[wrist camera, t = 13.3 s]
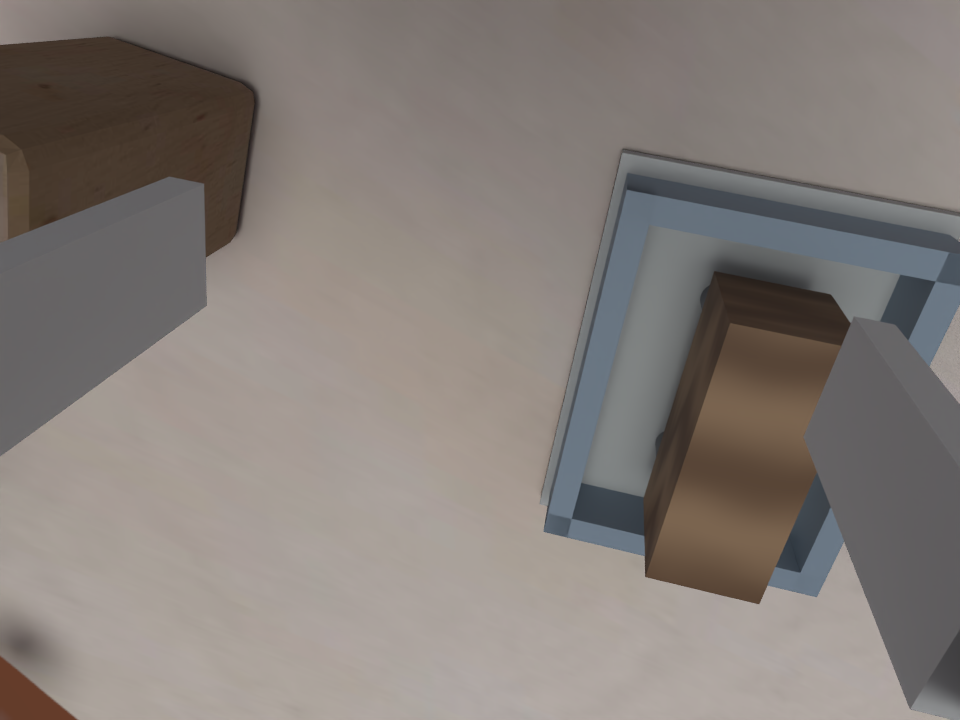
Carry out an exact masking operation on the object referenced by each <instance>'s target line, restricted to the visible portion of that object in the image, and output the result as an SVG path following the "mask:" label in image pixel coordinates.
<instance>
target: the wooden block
mask: <svg viewBox="0 0 960 720" xmlns="http://www.w3.org/2000/svg"><path fill="white" fill-rule="evenodd" d="M254 103H255V101H254V95H253V92H252V91H251V90H250V89H248V88H247V87H245V86H244V85H243V84H241V83H240V82H238V81H235V80H232V79H229V78H226V77H223V76H220V75H218V74H215V73H212V72H209V71H206V70H203V69H200V68H197V67H195V66H192V65H189V64H186V63H183V62H180V61H177V60H174V59H172V58H169V57H166V56H163V55H160V54H157V53H154V52H152V51H149V50H146V49H143V48H140V47H137V46H134V45H131V44H129V43H126V42H123V41H120V40H117V39H114V38H111V37H97V38H84V39H71V40H59V41H46V42H33V43H20V44H8V45H0V243H1V242H4V241H6V240H9V239H11V238H14V237H16V236H19V235H21V234H24V233H27V232H29V231H32V230H34V229H37V228H39V227H42V226H44V225H47V224H50V223H52V222H55V221H57V220H60V219H62V218H65V217H67V216H70V215H73V214H75V213H78V212H80V211H83V210H85V209H88V208H90V207H93V206H96V205H98V204H101V203H103V202H106V201H108V200H111V199H113V198H116V197H119V196H121V195H124V194H126V193H129V192H131V191H134V190H136V189H139V188H142V187H144V186H147V185H149V184H152V183H154V182H157V181H159V180H162V179H165V178H167V177H174V178H178V179H183V180H188V181H193V182H198V183H203V184H204V204H205V250H206V257H207V256H209V255H211V254H212V253H214V252H215V251H217V250H219V249H220V248H222V247H224V246H225V245H227V244H228V243H230V242H231V240H232V239H233V237H234V236H235V234H236V229H237V222H238V215H239V208H240V201H241V194H242V187H243V180H244V173H245V166H246V159H247V152H248V145H249V138H250V131H251V124H252V117H253V110H254Z"/></svg>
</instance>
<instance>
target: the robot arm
mask: <svg viewBox="0 0 960 720" xmlns="http://www.w3.org/2000/svg"><path fill="white" fill-rule="evenodd" d="M205 306H207V296H206V250H205V204H204V184H203V183H198V182H193V181H188V180H183V179H178V178H174V177H167V178H165V179H162V180H159V181H157V182H154V183H152V184H149V185H147V186H144V187H142V188H139V189H136V190H134V191H131V192H129V193H126V194H124V195H121V196H119V197H116V198H113V199H111V200H108V201H106V202H103V203H101V204H98V205H96V206H93V207H90V208H88V209H85V210H83V211H80V212H78V213H75V214H73V215H70V216H67V217H65V218H62V219H60V220H57V221H55V222H52V223H50V224H47V225H44V226H42V227H39V228H37V229H34V230H32V231H29V232H27V233H24V234H21V235H19V236H16V237H14V238H11V239H9V240H6V241H4V242H1V243H0V456H1V455H3V454H4V453H5V452H7V451H8V450H10V449H11V448H12V447H14V446H15V445H16V444H18V443H19V442H21V441H22V440H23V439H25V438H26V437H27V436H29V435H30V434H31V433H33V432H34V431H36V430H37V429H38V428H40V427H41V426H42V425H44V424H45V423H47V422H48V421H49V420H51V419H52V418H53V417H55V416H56V415H58V414H59V413H60V412H62V411H63V410H64V409H66V408H67V407H68V406H70V405H71V404H73V403H74V402H75V401H77V400H78V399H79V398H81V397H82V396H84V395H85V394H86V393H88V392H89V391H90V390H92V389H93V388H94V387H96V386H97V385H99V384H100V383H101V382H103V381H104V380H105V379H107V378H108V377H110V376H111V375H112V374H114V373H115V372H116V371H118V370H119V369H121V368H122V367H123V366H125V365H126V364H127V363H129V362H130V361H131V360H133V359H134V358H136V357H137V356H138V355H140V354H141V353H142V352H144V351H145V350H147V349H148V348H149V347H151V346H152V345H153V344H155V343H156V342H158V341H159V340H160V339H162V338H163V337H164V336H166V335H167V334H168V333H170V332H171V331H173V330H174V329H175V328H177V327H178V326H179V325H181V324H182V323H184V322H185V321H186V320H188V319H189V318H190V317H192V316H193V315H195V314H196V313H197V312H199V311H200V310H201V309H203V308H204V307H205ZM804 440H805V442H806V445H807V448H808V450H809V453H810V455H811V458H812V460H813V463H814V465H815V468H816V470H817V473H818V476H819V478H820V481H821V483H822V486H823V488H824V491H825V493H826V496H827V499H828V501H829V504H830V506H831V509H832V511H833V514H834V516H835V519H836V522H837V524H838V527H839V529H840V532H841V534H842V537H843V539H844V542H845V544H846V547H847V550H848V552H849V555H850V557H851V560H852V562H853V565H854V567H855V570H856V573H857V575H858V578H859V580H860V583H861V585H862V588H863V590H864V593H865V596H866V598H867V601H868V603H869V606H870V608H871V611H872V613H873V616H874V619H875V621H876V624H877V626H878V629H879V631H880V634H881V636H882V639H883V641H884V644H885V647H886V649H887V652H888V654H889V657H890V659H891V662H892V664H893V667H894V670H895V672H896V675H897V677H898V680H899V682H900V685H901V687H902V690H903V693H904V695H905V698H906V700H907V703H908V705H909V708H910V709H911V710H915V711H919V712H923V713H927V714H931V715H935V716H939V717H943V718H947V719H951V720H960V404H959V403H958V402H957V401H956V399H955V398H954V397H953V396H952V394H951V393H950V392H949V391H948V389H947V388H946V387H945V386H944V385H943V383H942V382H941V381H940V380H939V378H938V377H937V376H936V375H935V373H934V372H933V371H932V370H931V368H930V367H929V366H928V365H927V363H926V362H925V361H924V360H923V358H922V357H921V356H920V355H919V353H918V352H917V351H916V350H915V349H914V347H913V346H912V345H911V344H910V342H909V341H908V340H907V339H906V337H905V336H904V335H903V334H902V332H901V331H900V330H899V329H898V327H897V326H896V325H894V324H889V323H884V322H879V321H875V320H870V319H865V318H860V317H855V316H854V317H853V320H852V322H851V324H850V327H849V329H848V332H847V334H846V336H845V339H844V341H843V344H842V346H841V348H840V351H839V353H838V355H837V358H836V360H835V363H834V365H833V367H832V370H831V372H830V375H829V377H828V379H827V382H826V384H825V386H824V389H823V391H822V394H821V396H820V398H819V401H818V403H817V406H816V408H815V410H814V413H813V415H812V417H811V420H810V422H809V425H808V427H807V429H806V432H805V434H804Z"/></svg>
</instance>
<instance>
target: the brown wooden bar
mask: <svg viewBox="0 0 960 720" xmlns="http://www.w3.org/2000/svg"><path fill="white" fill-rule="evenodd" d="M850 324H851V323H850V322H849V320H848V319H847V317H846V316H845V314H844V313H843V311H842V310H841V308H840V307H839V305H838V304H837V302H836V301H835V299H834V298H833V296H832V295H831V294H827V293H822V292H817V291H812V290H807V289H802V288H797V287H792V286H787V285H782V284H777V283H772V282H767V281H762V280H757V279H752V278H747V277H742V276H737V275H732V274H727V273H722V272H717V271H714V274H713V277H712V280H711V283H710V286H709V290H708V293H707V296H706V299H705V302H704V306H703V309H702V312H701V315H700V318H699V322H698V325H697V328H696V331H695V335H694V338H693V341H692V344H691V347H690V351H689V354H688V357H687V360H686V363H685V367H684V370H683V373H682V376H681V379H680V383H679V386H678V389H677V392H676V395H675V399H674V402H673V405H672V408H671V411H670V415H669V418H668V421H667V424H666V427H665V431H664V434H663V437H662V440H661V443H660V447H659V450H658V453H657V456H656V459H655V463H654V466H653V469H652V472H651V475H650V479H649V482H648V485H647V488H646V491H645V495H644V498H643V504H644V543H645V577H648V578H652V579H656V580H660V581H665V582H669V583H673V584H677V585H681V586H685V587H690V588H694V589H698V590H702V591H706V592H710V593H714V594H719V595H723V596H727V597H731V598H735V599H739V600H744V601H748V602H752V603H756V604H759V603H760V601H761V599H762V597H763V594H764V592H765V590H766V587H767V585H768V583H769V581H770V578H771V576H772V574H773V571H774V569H775V567H776V565H777V562H778V560H779V558H780V555H781V553H782V551H783V549H784V546H785V544H786V542H787V540H788V537H789V535H790V533H791V530H792V528H793V526H794V524H795V521H796V519H797V517H798V514H799V512H800V510H801V508H802V505H803V503H804V501H805V498H806V496H807V494H808V492H809V489H810V487H811V485H812V482H813V480H814V478H815V476H816V473H817V470H816V468H815V465H814V463H813V460H812V458H811V455H810V453H809V450H808V448H807V445H806V442H805V440H804V434H805V432H806V429H807V427H808V425H809V422H810V420H811V417H812V415H813V413H814V410H815V408H816V406H817V403H818V401H819V398H820V396H821V394H822V391H823V389H824V386H825V384H826V382H827V379H828V377H829V375H830V372H831V370H832V367H833V365H834V363H835V360H836V358H837V355H838V353H839V351H840V348H841V346H842V344H843V341H844V339H845V336H846V334H847V332H848V329H849V327H850Z"/></svg>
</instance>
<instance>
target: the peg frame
mask: <svg viewBox="0 0 960 720" xmlns="http://www.w3.org/2000/svg"><path fill="white" fill-rule="evenodd" d="M959 237H960V213H957V212H952V211H946V210H941V209H936V208H930V207H925V206H920V205H915V204H909V203H904V202H899V201H893V200H888V199H883V198H877V197H872V196H867V195H862V194H856V193H851V192H846V191H840V190H835V189H830V188H825V187H819V186H814V185H809V184H803V183H798V182H793V181H788V180H782V179H777V178H772V177H766V176H761V175H756V174H751V173H745V172H740V171H735V170H729V169H724V168H719V167H713V166H708V165H703V164H698V163H692V162H687V161H682V160H676V159H671V158H666V157H661V156H655V155H650V154H645V153H639V152H634V151H629V150H624V149H623V150H622V154H621V158H620V163H619V167H618V171H617V175H616V180H615V184H614V188H613V192H612V197H611V201H610V205H609V209H608V214H607V218H606V222H605V227H604V231H603V235H602V239H601V244H600V248H599V252H598V256H597V261H596V265H595V269H594V273H593V278H592V282H591V286H590V290H589V295H588V299H587V303H586V307H585V312H584V316H583V320H582V324H581V329H580V333H579V337H578V341H577V346H576V350H575V354H574V358H573V363H572V367H571V371H570V375H569V380H568V384H567V388H566V392H565V397H564V401H563V405H562V409H561V414H560V418H559V422H558V426H557V431H556V435H555V439H554V443H553V448H552V452H551V456H550V460H549V465H548V469H547V473H546V477H545V482H544V486H543V490H542V495H541V500H540V504H541V505H545V506H548V508H547V514H546V520H545V526H544V532H547V533H551V534H555V535H559V536H563V537H567V538H572V539H576V540H580V541H584V542H588V543H593V544H597V545H601V546H605V547H609V548H613V549H618V550H622V551H626V552H630V553H634V554H638V555H643V556H645V543H644V504H643V498H644V495H645V491H646V488H647V485H648V482H649V479H650V475H651V472H652V469H653V466H654V463H655V459H656V456H657V453H658V450H659V447H660V443H661V440H662V437H663V434H664V431H665V427H666V424H667V421H668V418H669V415H670V411H671V408H672V405H673V402H674V399H675V395H676V392H677V389H678V386H679V383H680V379H681V376H682V373H683V370H684V367H685V363H686V360H687V357H688V354H689V351H690V347H691V344H692V341H693V338H694V335H695V331H696V328H697V325H698V322H699V318H700V315H701V312H702V309H703V306H704V302H705V299H706V296H707V293H708V290H709V286H710V283H711V280H712V277H713V274H714V271H717V272H722V273H727V274H732V275H737V276H742V277H747V278H752V279H757V280H762V281H767V282H772V283H777V284H782V285H787V286H792V287H797V288H802V289H807V290H812V291H817V292H822V293H827V294H831V295H832V296H833V298H834V299H835V301H836V302H837V304H838V305H839V307H840V308H841V310H842V311H843V313H844V314H845V316H846V317H847V319H848V320H849V322H850V323H851V322H852V320H853V317H854V316H855V317H860V318H865V319H870V320H875V321H879V322H884V323H889V324H894V325H896V326H897V327H898V329H899V330H900V331H901V332H902V334H903V335H904V336H905V337H906V339H907V340H908V341H909V342H910V344H911V345H912V346H913V347H914V349H915V350H916V351H917V352H918V353H919V355H920V356H921V357H922V358H923V360H924V361H925V362H926V363H927V365H928V366H930V364H931V362H932V360H933V358H934V356H935V354H936V352H937V350H938V348H939V346H940V344H941V341H942V339H943V337H944V335H945V333H946V331H947V329H948V327H949V325H950V323H951V321H952V319H953V317H954V315H955V313H956V311H957V309H958V307H959V305H960V242H959V241H958V240H959ZM843 542H844V539H843V537H842V534H841V532H840V529H839V527H838V524H837V522H836V519H835V516H834V514H833V511H832V509H831V506H830V504H829V501H828V499H827V496H826V493H825V491H824V488H823V486H822V483H821V481H820V478H819V476H818V473H816V476H815V478H814V480H813V482H812V485H811V487H810V489H809V492H808V494H807V496H806V498H805V501H804V503H803V505H802V508H801V510H800V512H799V514H798V517H797V519H796V521H795V524H794V526H793V528H792V530H791V533H790V535H789V537H788V540H787V542H786V544H785V546H784V549H783V551H782V553H781V555H780V558H779V560H778V562H777V565H776V567H775V569H774V571H773V574H772V576H771V578H770V581H769V583H768V586H772V587H776V588H780V589H785V590H789V591H793V592H797V593H801V594H806V595H810V596H814V597H817V596H818V594H819V592H820V590H821V588H822V585H823V583H824V581H825V579H826V577H827V575H828V573H829V571H830V569H831V567H832V565H833V563H834V561H835V559H836V557H837V555H838V553H839V551H840V549H841V547H842V544H843Z"/></svg>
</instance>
